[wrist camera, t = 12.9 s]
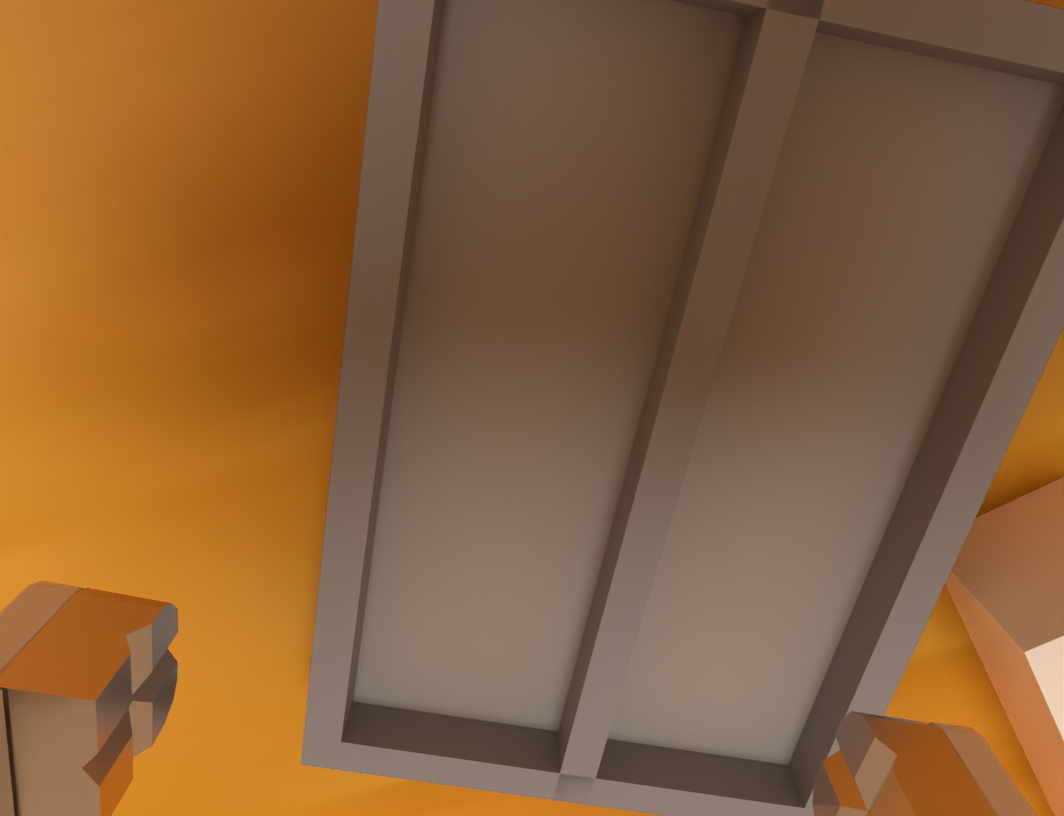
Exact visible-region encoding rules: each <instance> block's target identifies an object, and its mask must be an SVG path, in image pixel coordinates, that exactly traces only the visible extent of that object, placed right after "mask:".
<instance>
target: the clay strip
mask: <svg viewBox="0 0 1064 816" xmlns="http://www.w3.org/2000/svg"><path fill="white" fill-rule="evenodd" d="M945 585H946V587H947V589H948V592H949V594H950V596H951V598H952V600H953V602H954V604H955V606H956V609H957V611H958V613H959V615H960V617H961V619H962V621H963V623H964V625H965V628H966V630H967V632H968V634H969V636H970V638H971V640H972V642H973V645H974V647H975V649H976V651H977V653H978V655H979V657H980V659H981V661H982V664H983V666H984V668H985V670H986V672H987V674H988V676H989V678H990V681H991V683H992V685H993V687H994V689H995V691H996V693H997V695H998V698H999V700H1000V702H1001V704H1002V706H1003V708H1004V710H1005V712H1006V714H1007V717H1008V719H1009V721H1010V723H1011V725H1012V727H1013V729H1014V731H1015V734H1016V736H1017V738H1018V740H1019V742H1020V744H1021V746H1022V748H1023V751H1024V753H1025V755H1026V757H1027V759H1028V761H1029V763H1030V765H1031V767H1032V770H1033V772H1034V774H1035V776H1036V778H1037V780H1038V782H1039V784H1040V787H1041V789H1042V791H1043V793H1044V795H1045V797H1046V799H1047V801H1048V803H1049V806H1050V808H1051V810H1052V812H1053V814H1054V816H1064V477H1062V478H1060V479H1058V480H1056V481H1054V482H1052V483H1049V484H1047V485H1045V486H1043V487H1041V488H1039V489H1036V490H1034V491H1032V492H1030V493H1028V494H1026V495H1024V496H1021V497H1019V498H1017V499H1015V500H1013V501H1011V502H1008V503H1006V504H1004V505H1002V506H1000V507H998V508H996V509H993V510H991V511H989V512H987V513H985V514H983V515H980V516H978V517H976V518H975V520H974V522H973V524H972V526H971V529H970V531H969V533H968V535H967V537H966V539H965V541H964V544H963V546H962V548H961V550H960V552H959V554H958V557H957V559H956V561H955V563H954V565H953V567H952V570H951V572H950V574H949V576H948V578H947V580H946V583H945Z"/></svg>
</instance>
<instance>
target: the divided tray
mask: <svg viewBox="0 0 1064 816" xmlns="http://www.w3.org/2000/svg"><path fill="white" fill-rule="evenodd" d="M1063 327H1064V9H1061V8H1056V7H1052V6H1047V5H1043V4H1038V3H1034V2H1029V1H1025V0H379V3H378V12H377V22H376V32H375V42H374V52H373V61H372V71H371V81H370V91H369V101H368V110H367V120H366V130H365V140H364V150H363V159H362V169H361V179H360V189H359V199H358V208H357V218H356V228H355V238H354V248H353V257H352V267H351V277H350V287H349V297H348V306H347V316H346V326H345V336H344V346H343V355H342V365H341V375H340V385H339V395H338V404H337V414H336V424H335V434H334V444H333V453H332V463H331V473H330V483H329V493H328V502H327V512H326V522H325V532H324V542H323V551H322V561H321V571H320V581H319V591H318V600H317V610H316V620H315V630H314V640H313V649H312V659H311V669H310V679H309V689H308V698H307V708H306V718H305V728H304V738H303V747H302V757H301V765H308V766H315V767H322V768H329V769H336V770H343V771H351V772H358V773H365V774H372V775H379V776H386V777H393V778H401V779H408V780H415V781H422V782H429V783H436V784H443V785H450V786H458V787H465V788H472V789H479V790H486V791H493V792H500V793H508V794H515V795H522V796H529V797H536V798H543V799H550V800H558V801H565V802H572V803H579V804H586V805H593V806H600V807H607V808H615V809H622V810H629V811H636V812H643V813H650V814H657V815H665V816H814V811H813V805H812V804H813V789H814V780H815V778H816V775H817V773H818V771H819V768H820V766H821V763H822V761H823V760H825V759H826V758H828V757H829V756H831V755H833V754H834V753H836V752H837V751H839V750H840V747H839V744H838V742H837V739H836V737H835V733H836V731H837V728H838V726H839V724H840V722H841V720H842V719H843V718H844V717H845V716H846V715H847V714H849V713H850V712H851V711H854V712H860V713H867V714H874V715H880V716H884V714H885V712H886V710H887V708H888V706H889V704H890V701H891V699H892V697H893V695H894V693H895V691H896V688H897V686H898V684H899V682H900V680H901V678H902V676H903V673H904V671H905V669H906V667H907V665H908V663H909V660H910V658H911V656H912V654H913V652H914V650H915V647H916V645H917V643H918V641H919V639H920V637H921V634H922V632H923V630H924V628H925V626H926V624H927V621H928V619H929V617H930V615H931V613H932V611H933V608H934V606H935V604H936V602H937V600H938V598H939V596H940V593H941V591H942V589H943V587H944V585H945V583H946V580H947V578H948V576H949V574H950V572H951V570H952V567H953V565H954V563H955V561H956V559H957V557H958V554H959V552H960V550H961V548H962V546H963V544H964V541H965V539H966V537H967V535H968V533H969V531H970V529H971V526H972V524H973V522H974V520H975V518H976V516H977V513H978V511H979V509H980V507H981V505H982V503H983V500H984V498H985V496H986V494H987V492H988V490H989V487H990V485H991V483H992V481H993V479H994V477H995V474H996V472H997V470H998V468H999V466H1000V464H1001V461H1002V459H1003V457H1004V455H1005V453H1006V451H1007V449H1008V446H1009V444H1010V442H1011V440H1012V438H1013V436H1014V433H1015V431H1016V429H1017V427H1018V425H1019V423H1020V420H1021V418H1022V416H1023V414H1024V412H1025V410H1026V407H1027V405H1028V403H1029V401H1030V399H1031V397H1032V394H1033V392H1034V390H1035V388H1036V386H1037V384H1038V382H1039V379H1040V377H1041V375H1042V373H1043V371H1044V369H1045V366H1046V364H1047V362H1048V360H1049V358H1050V356H1051V353H1052V351H1053V349H1054V347H1055V345H1056V343H1057V340H1058V338H1059V336H1060V334H1061V332H1062V330H1063Z"/></svg>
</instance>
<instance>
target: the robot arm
mask: <svg viewBox="0 0 1064 816" xmlns="http://www.w3.org/2000/svg"><path fill="white" fill-rule="evenodd" d="M177 633H178V615H177V608H176V607H175V606H174V605H173V604H172V603H167V602H162V601H156V600H151V599H145V598H140V597H134V596H129V595H123V594H118V593H112V592H107V591H101V590H96V589H90V588H85V589H84V588H80V587H75V586H69V585H64V584H58V583H53V582H47V581H39V582H37V583H34V584H31V585H29V586H28V587H26V588H25V589H24V590H23V591H22V592H21V593H20V594H19V595H18V596H17V597H16V598H15V599H14V600H13V601H12V602H11V603H10V604H9V605H8V606H7V607H6V608H5V609H4V610H3V611H2V612H1V613H0V816H111V815H112V813H113V811H114V810H115V808H116V806H117V805H118V803H119V801H120V800H121V798H122V796H123V795H124V793H125V791H126V790H127V788H128V786H129V784H130V783H131V781H132V779H133V757H134V756H136V755H138V754H139V753H141V752H142V751H144V750H146V749H147V748H149V747H151V746H152V745H153V743H154V742H155V740H156V738H157V736H158V734H159V733H160V731H161V729H162V727H163V725H164V723H165V721H166V718H167V715H168V712H169V710H170V707H171V704H172V701H173V698H174V693H175V687H176V682H177V664H178V662H177V661H176V659H175V658H174V657H173V655H172V654H171V653H170V652H169V650H168V649H167V648H168V647H169V645H170V643H171V642H172V640H173V639H174V637H175V636H176V634H177ZM835 737H836V739H837V742H838V744H839V747H840V750H839V751H837V752H836V753H834V754H833V755H831V756H829V757H828V758H826V759H825V760H823V761H822V763H821V766H820V768H819V771H818V773H817V775H816V778H815V780H814V789H813V804H812V805H813V811H814V816H1037V815H1036V814H1035V812H1034V811H1033V809H1032V808H1031V806H1030V805H1029V804H1028V802H1027V801H1026V799H1025V798H1024V796H1023V795H1022V793H1021V792H1020V790H1019V789H1018V788H1017V786H1016V785H1015V783H1014V782H1013V780H1012V779H1011V777H1010V776H1009V774H1008V773H1007V771H1006V770H1005V769H1004V767H1003V766H1002V764H1001V763H1000V761H999V760H998V758H997V757H996V755H995V754H994V752H993V751H992V750H991V748H990V747H989V745H988V744H987V742H986V741H985V739H984V738H983V737H982V736H981V735H980V734H978V733H977V732H976V731H974V730H973V729H972V728H968V727H961V726H954V725H947V724H939V723H932V722H931V723H925V722H920V721H913V720H907V719H900V718H893V717H887V716H880V715H874V714H867V713H860V712H854V711H851V712H850V713H849V714H847V715H846V716H845V717H844V718H843V719H842V720H841V722H840V724H839V726H838V728H837V731H836V733H835Z"/></svg>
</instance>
